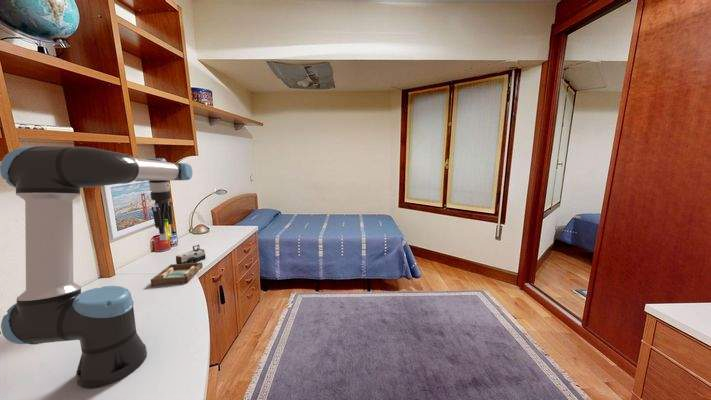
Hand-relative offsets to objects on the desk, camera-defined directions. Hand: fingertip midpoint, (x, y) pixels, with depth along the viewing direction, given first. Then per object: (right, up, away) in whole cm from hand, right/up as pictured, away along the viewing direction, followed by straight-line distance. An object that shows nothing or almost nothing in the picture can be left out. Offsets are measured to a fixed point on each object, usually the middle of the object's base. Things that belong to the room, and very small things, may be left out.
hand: (166, 238), depth 126 cm
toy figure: (-1, -2, 0) cm, 3 cm away
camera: (-4, -19, +27) cm, 34 cm away
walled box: (0, -22, +9) cm, 24 cm away
